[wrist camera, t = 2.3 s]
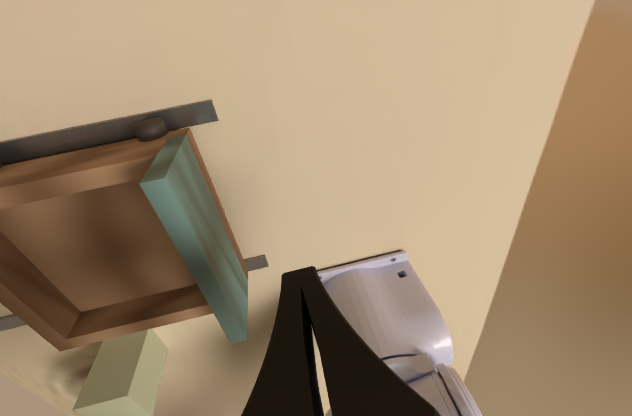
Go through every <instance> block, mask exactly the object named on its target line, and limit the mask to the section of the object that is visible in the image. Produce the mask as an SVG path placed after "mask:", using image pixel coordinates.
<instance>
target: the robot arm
mask: <svg viewBox="0 0 632 416" xmlns="http://www.w3.org/2000/svg"><path fill="white" fill-rule="evenodd" d="M392 258H393V259H392ZM319 276H320V277H319ZM311 325H312V327H311ZM312 328H313V332H314V335H315V338H316V342H317V345H318V348H319V352H320V356H321V361H322V366H323V372H324V377H325V382H326V387H327V392H328V397H329V402H330V408H331V409H329V410H328V411H327V413H326V416H482V414H481V412H480V410H479V408H478V407H477V405H476V403H475V401H474V399H473V398H472V396H471V394H470V393H469V391H468V389H467V388H466V386H465V384H464V382H463V381H462V379H461V378H460V376H459V375H458V373H457V372H456V370H455V369H453V368H451V367H449V366H450V365H451V364H452V363H453V359H454V352H453V344H452V340H451V337H450V333H449V331H448V328H447V325H446V323H445V321H444V319H443V316H442V314H441V313H440V311H439V309H438V307H437V306H436V304H435V302H434V301H433V299H432V298H431V296H430V294H429V293H428V291H427V290H426V288H425V286H424V285H423V283H422V282H421V280H420V279H419V277H418V275H417V274H416V272H415V271H414V269H413V267H412V266H411V264H410V263H409V261H408V253H407V252H406V251H400V252H396V253H392V254H388V255H383V256H379V257H375V258H371V259H367V260H363V261H359V262H355V263H351V264H347V265H343V266H338V267H334V268H330V269H326V270H322V271H318V272H317V271H316V268H315V267H313V266H311V267H307V268H303V269H299V270H295V271H291V272H287V273H284V274H283V275H282V282H281V292H280V299H279V305H278V310H277V315H276V319H275V324H274V328H273V331H272V335H271V339H270V342H269V346H268V349H267V352H266V355H265V358H264V361H263V364H262V367H261V370H260V372H259V375H258V378H257V380H256V383H255V385H254V388H253V390H252V393H251V395H250V397H249V400H248V402H247V404H246V406H245V408H244V411H243V413H242V415H241V416H324V413H323V408H322V403H321V398H320V393H319V387H318V380H317V372H316V363H315V354H314V345H313V336H312ZM437 371H438V373H439V375H440V377H441V379H442V381H441V379H440V378H439V376H438V374H437ZM442 382H443V383H442ZM443 384H444V385H443ZM444 386H445V387H444Z"/></svg>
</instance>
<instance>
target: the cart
mask: <svg viewBox="0 0 632 416" xmlns="http://www.w3.org/2000/svg"><path fill="white" fill-rule="evenodd" d="M131 127H132V129H133V131H134V133H135V135H136V137H137V138H136V139H131V140H126V141H121V142H116V143H111V144H107V145H102V146H97V147H92V148H87V149H82V150H77V151H73V152H68V153H63V154H58V155H53V156H48V157H43V158H39V159H34V160H29V161H24V162H19V163H14V164H9V165H5V164H4V162H3V161H2V160H1V159H0V303H2V304H3V305H4V306H5V307H6V308H8V309H9V310H10V311H11V312H13V313H14V314H15V315H16V316H18V317H19V318H20V319H21V320H22V321H24V322H25V323H26V324H27V325H29V326H30V327H31V328H32V329H33V330H35V331H36V332H37V333H38V334H40V335H41V336H42V337H43V338H44V339H46V340H47V341H48V342H49V343H51V344H52V345H53V346H54V347H55V348H57V349H58V350H59V351H63V350H67V349H71V348H75V347H79V346H83V345H87V344H91V343H95V342H99V341H103V340H107V339H111V338H115V337H119V336H123V335H127V334H131V333H135V332H139V331H144V330H148V329H152V328H156V327H160V326H164V325H168V324H172V323H176V322H180V321H184V320H188V319H192V318H196V317H200V316H204V315H208V314H212V313H214V315H215V316H216V318H217V320H218V322H219V323H220V325H221V327H222V328H223V330H224V332H225V334H226V335H227V337H228V339H229V341H230V342H231V344H236V343H240V342H244V341H247V311H248V270H247V267H246V265H245V262H244V260H243V257H242V255H241V252H240V250H239V247H238V245H237V243H236V240H235V238H234V235H233V233H232V230H231V228H230V225H229V223H228V220H227V218H226V216H225V213H224V211H223V208H222V206H221V203H220V201H219V198H218V196H217V194H216V191H215V189H214V186H213V184H212V181H211V179H210V176H209V174H208V171H207V169H206V167H205V164H204V162H203V159H202V157H201V154H200V152H199V149H198V147H197V144H196V142H195V140H194V137H193V135H192V132H191V130H190V127H189V128H184V129H180V130H175V131H170V132H168V130H167V128H166V126H165V124H164V122H163V119H162V118H161V117H152V118H147V119H144V120H141V121H138V122H136V123H134V124H133V125H132V126H131Z"/></svg>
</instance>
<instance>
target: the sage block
mask: <svg viewBox="0 0 632 416" xmlns="http://www.w3.org/2000/svg"><path fill="white" fill-rule="evenodd" d="M167 353H168V348H167V347H166V346H165V344H164V343H163V342H162V341H161V340H160V338H159V337H158V336H157V335H156V333H155V332H154V331H153V330H152V329H148V330H144V331H139V332H135V333H131V334H127V335H123V336H119V337H115V338H111V339H107V340H103V342H102V344H101V347H100V349H99V351H98V353H97V356H96V358H95V360H94V363H93V365H92V367H91V369H90V372H89V374H88V376H87V378H86V381H85V383H84V385H83V388H82V390H81V392H80V394H79V397H78V399H77V401H76V403H75V406H74V408H73V411H74V412H76V413H77V414H79V415H80V416H153V412H154V408H155V403H156V399H157V395H158V391H159V387H160V382H161V378H162V374H163V370H164V366H165V361H166V357H167Z"/></svg>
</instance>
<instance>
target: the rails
mask: <svg viewBox="0 0 632 416" xmlns="http://www.w3.org/2000/svg"><path fill="white" fill-rule="evenodd" d="M152 117H161V118H162V119H163V122H164V124H165V126H166V128H167V130H168V131H170V130H175V129H180V128H185V127H189V126H194V125H199V124H204V123H209V122H214V121H218V117H217V114H216V111H215V108H214V105H213V102H212V100H207V101H202V102H197V103H192V104H187V105H182V106H177V107H172V108H167V109H162V110H157V111H152V112H147V113H143V114H138V115H133V116H128V117H123V118H118V119H113V120H108V121H103V122H98V123H93V124H88V125H83V126H78V127H73V128H68V129H63V130H58V131H53V132H48V133H43V134H38V135H33V136H28V137H23V138H18V139H13V140H8V141H3V142H0V159H1V160H2V161H3V162H4V164H9V163H14V162H19V161H24V160H29V159H34V158H38V157H43V156H48V155H53V154H58V153H63V152H68V151H73V150H77V149H82V148H87V147H92V146H97V145H102V144H107V143H112V142H116V141H121V140H126V139H131V138H136V135H135V133H134V131H133V129H132V127H131V126H132V125H133V124H134V123H136V122H138V121H141V120H144V119H147V118H152ZM244 262H245V265H246V267H247V270H248V271H252V270H256V269H260V268H264V267H268V262H267V260H266V257H265V255H262V256H258V257H254V258H250V259H245V260H244ZM23 325H27V324H26V323H25V322H24V321H22V320H21V319H20V318H19V317H18V316H16V315H15V314H14V315H10V316H6V317H2V318H0V331H3V330H7V329H11V328H15V327H19V326H23Z"/></svg>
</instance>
